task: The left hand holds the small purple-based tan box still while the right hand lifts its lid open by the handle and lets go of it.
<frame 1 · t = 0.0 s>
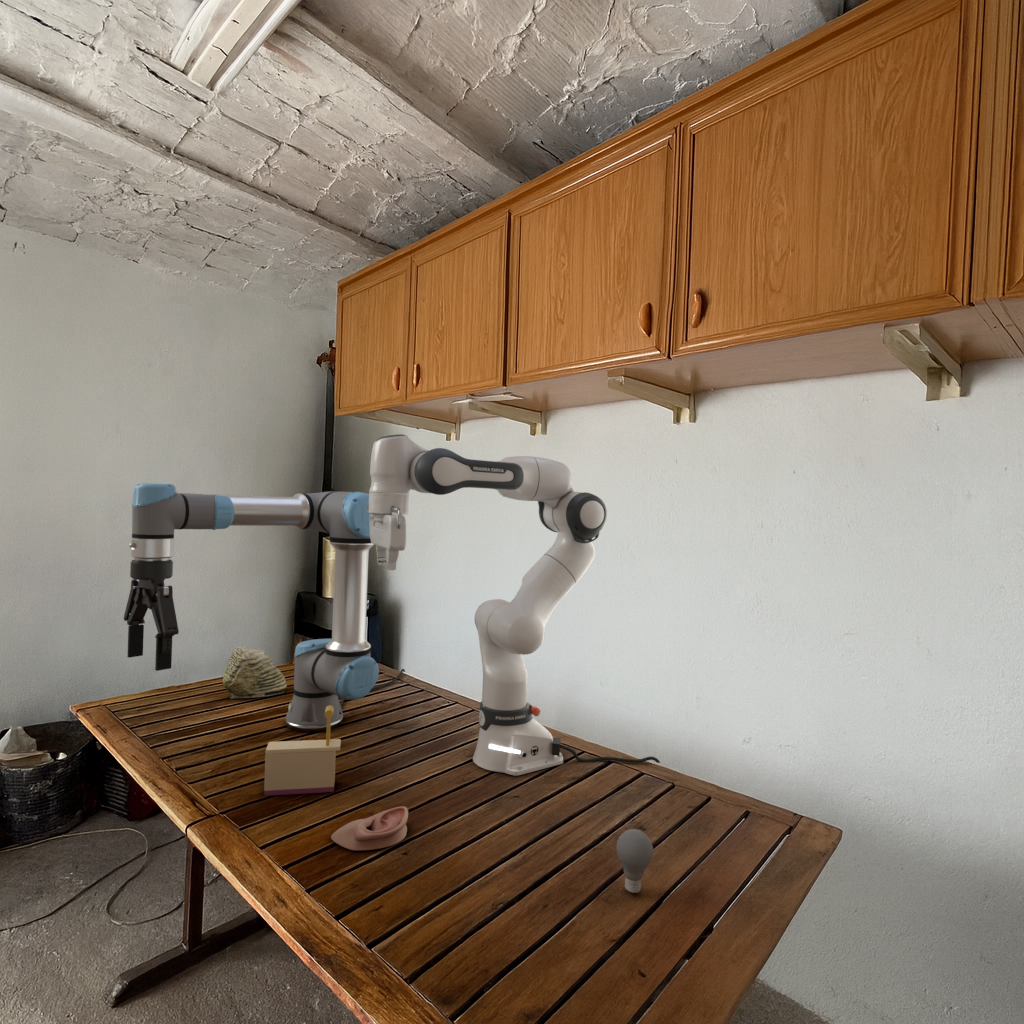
left hand: (148, 662, 129), 28 cm above the table, tool pointing down, fingers open, 13 cm apart
right hand: (386, 567, 143), 48 cm above the table, tool pointing down, fingers open, 8 cm apart
anatomical model: (370, 836, 119), on the table
light bulb: (632, 891, 106), on the table
lid: (305, 728, 137), point 13 cm above the table, hinge at 0.0°
fossil: (254, 694, 198), on the table
purple-based tan box: (300, 788, 137), on the table
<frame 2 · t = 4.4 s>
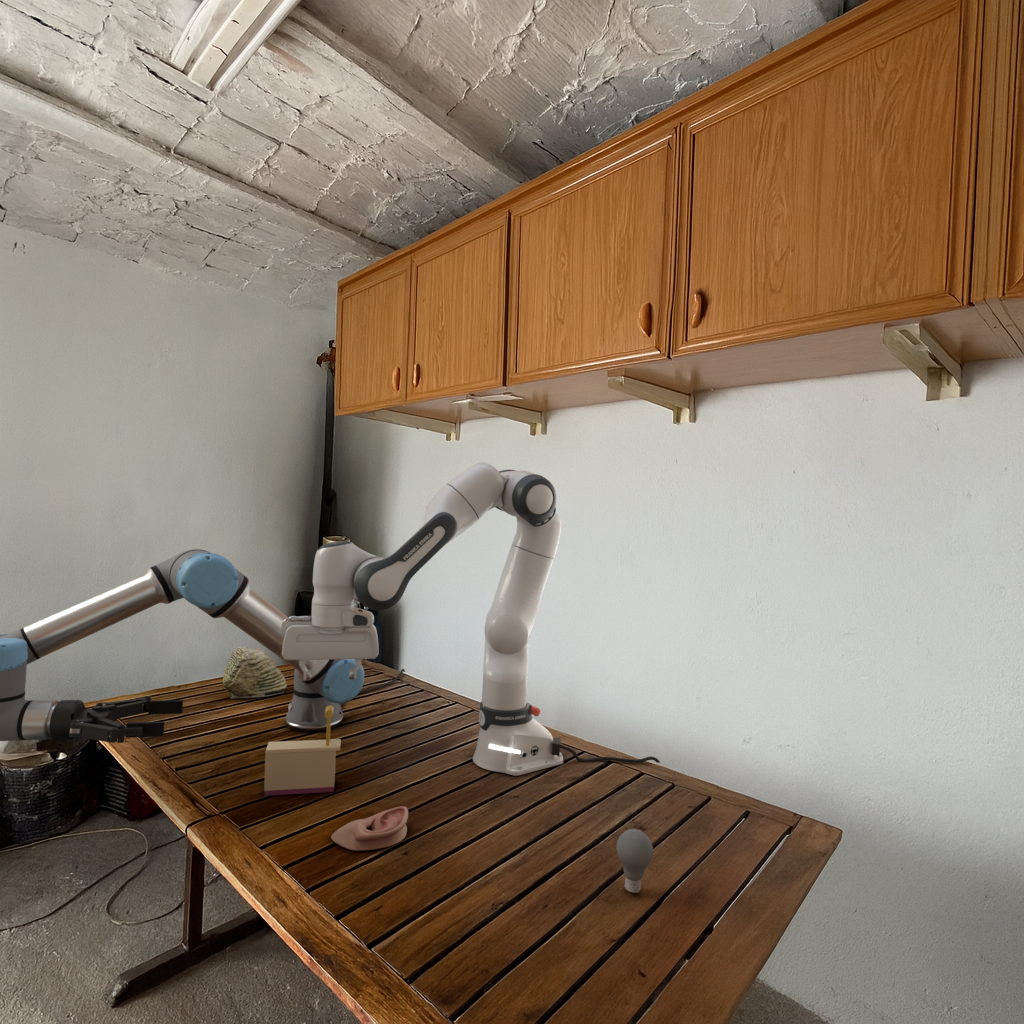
left hand: (173, 717, 131), 17 cm above the table, tool horizontal, fingers open, 13 cm apart
right hand: (330, 679, 138), 24 cm above the table, tool pointing down, fingers open, 8 cm apart
nothing on the table moved.
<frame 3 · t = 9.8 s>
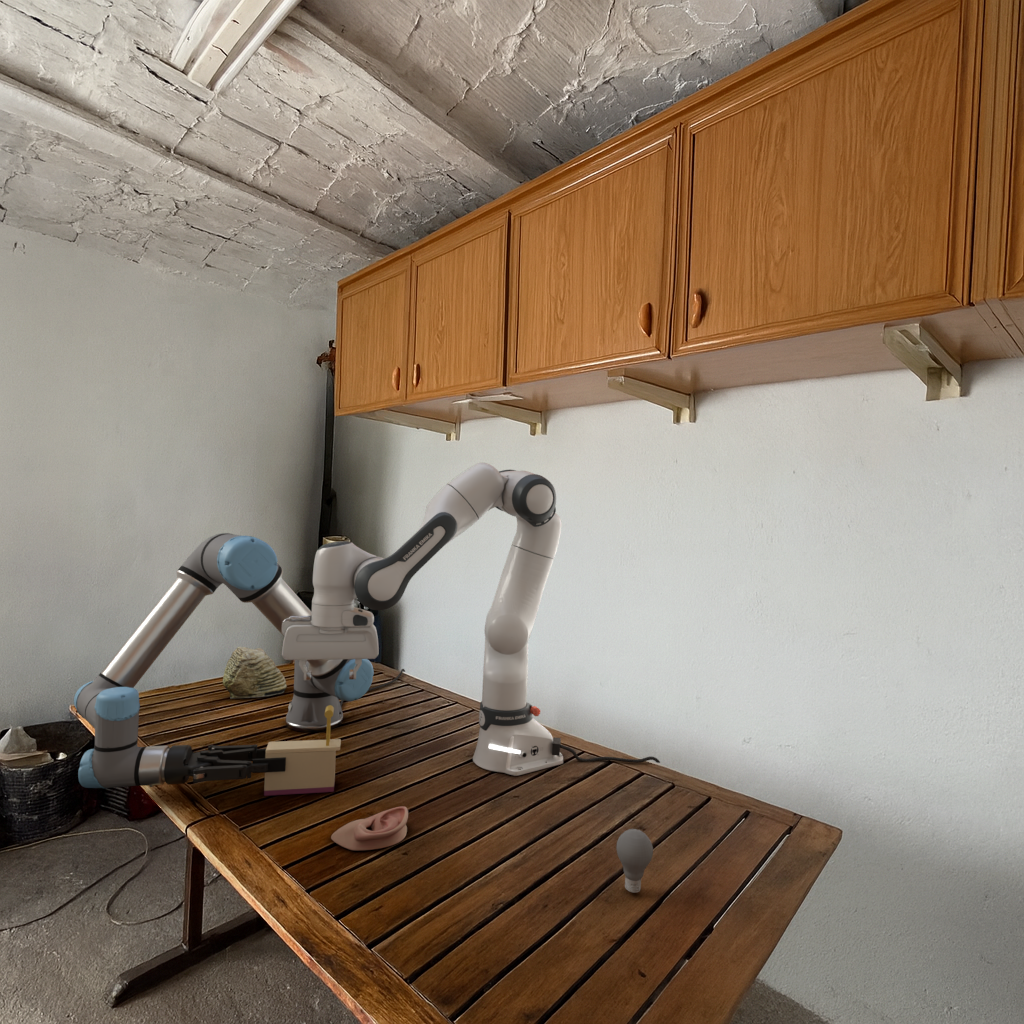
left hand: (286, 759, 136), 7 cm above the table, tool horizontal, fingers closed on purple-based tan box, 4 cm apart
right hand: (330, 679, 138), 24 cm above the table, tool pointing down, fingers open, 8 cm apart
purple-based tan box: (300, 788, 137), on the table, touching left hand
everything else where it was.
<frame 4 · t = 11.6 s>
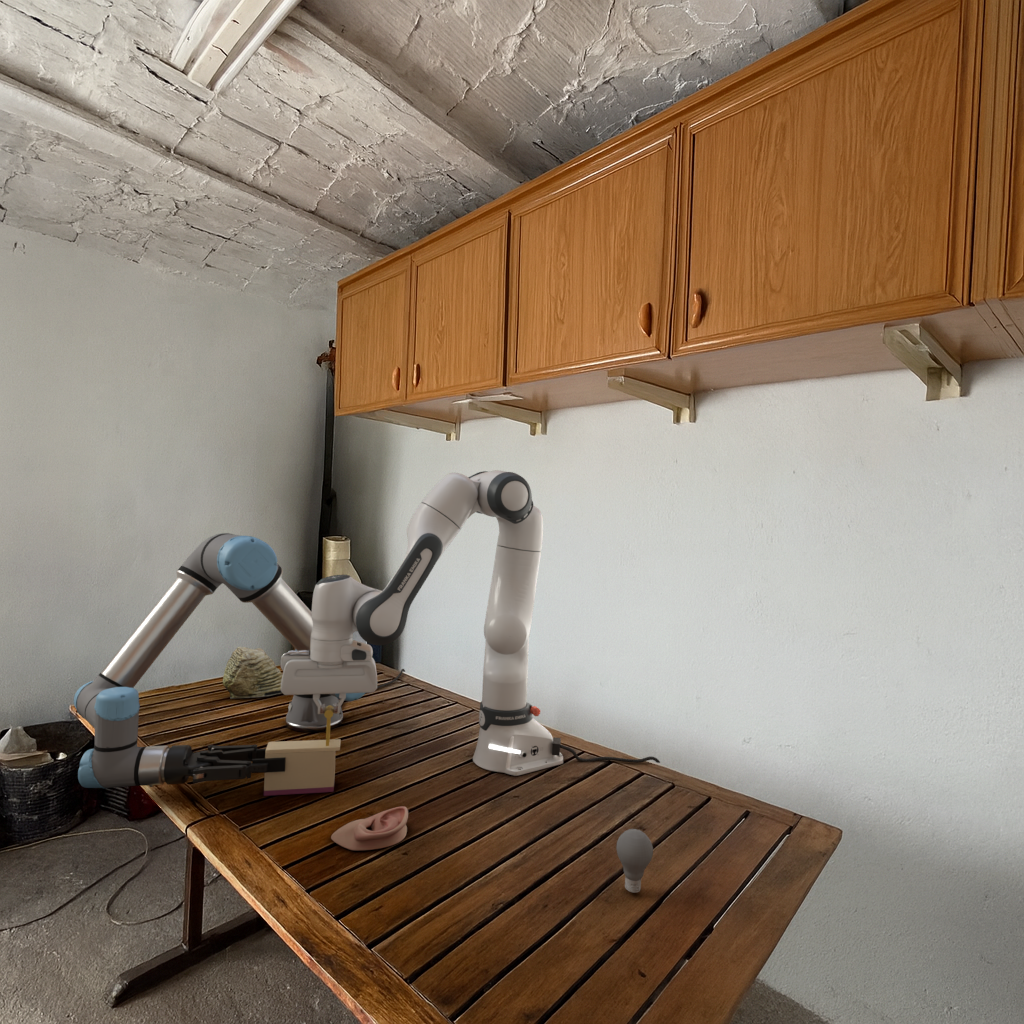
left hand: (286, 759, 136), 7 cm above the table, tool horizontal, fingers closed on purple-based tan box, 4 cm apart
right hand: (329, 713, 138), 16 cm above the table, tool pointing down, fingers closed on lid, 2 cm apart
lid: (304, 728, 137), point 13 cm above the table, hinge at -0.1°, touching right hand
purple-based tan box: (300, 788, 137), on the table, touching left hand
everything else where it was.
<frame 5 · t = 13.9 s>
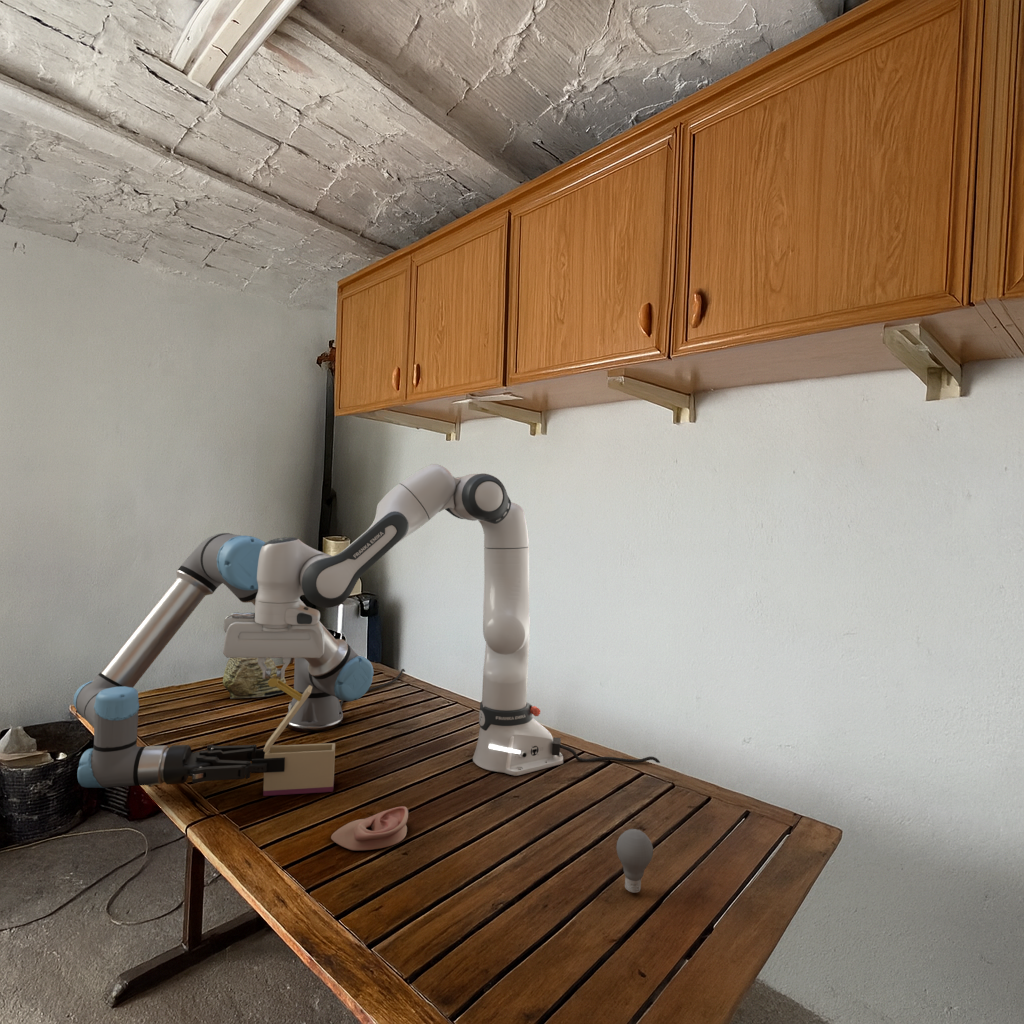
left hand: (285, 759, 136), 7 cm above the table, tool horizontal, fingers closed on purple-based tan box, 4 cm apart
right hand: (273, 677, 135), 24 cm above the table, tool pointing down, fingers closed on lid
lid: (272, 708, 135), point 18 cm above the table, hinge at 55.6°, touching right hand
purple-based tan box: (299, 788, 137), on the table, touching left hand
everything else where it was.
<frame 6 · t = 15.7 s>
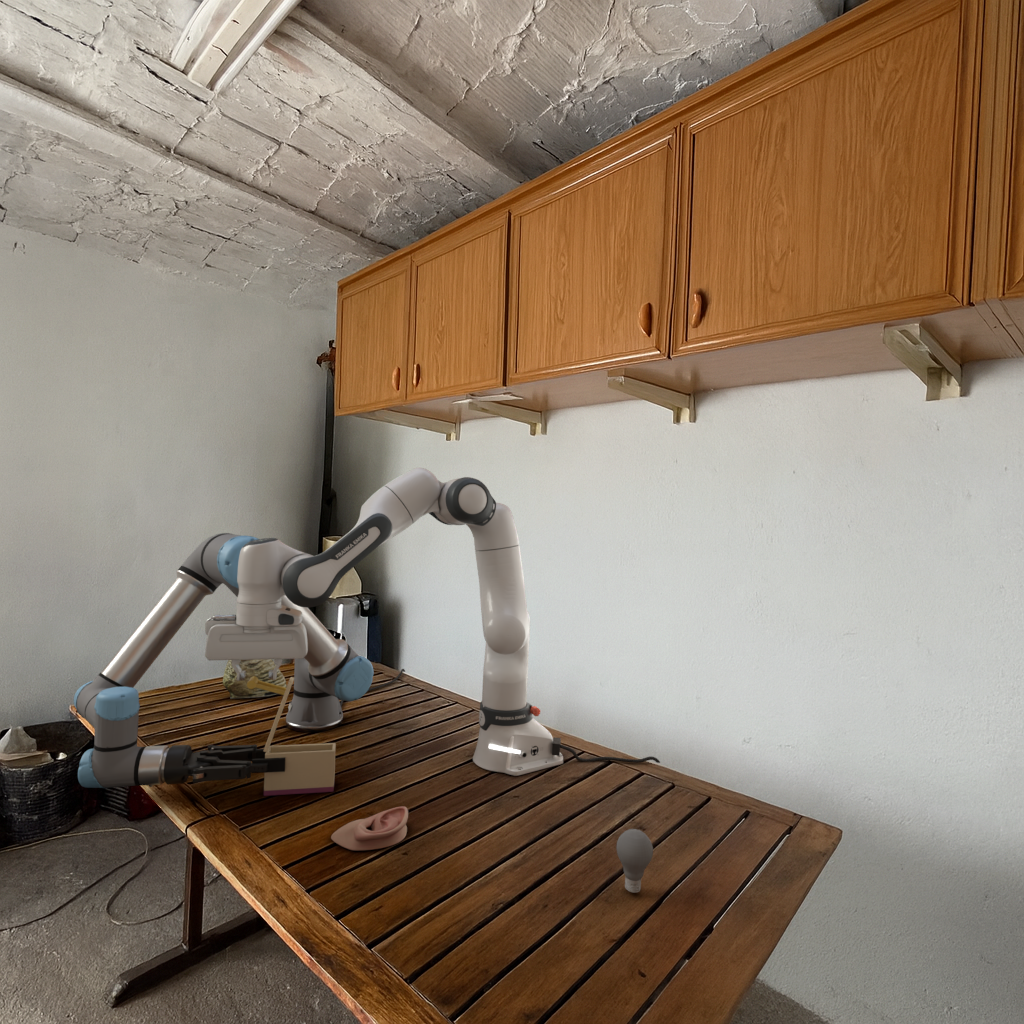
left hand: (286, 759, 136), 7 cm above the table, tool horizontal, fingers closed on purple-based tan box, 4 cm apart
right hand: (256, 679, 134), 24 cm above the table, tool pointing down, fingers open, 5 cm apart
lid: (260, 709, 135), point 18 cm above the table, hinge at 72.5°
purple-based tan box: (300, 788, 137), on the table, touching left hand
everything else where it was.
when the left hand's fingers open (7 cm above the table, at t = 18.3 s): purple-based tan box stays where it is, on the table.
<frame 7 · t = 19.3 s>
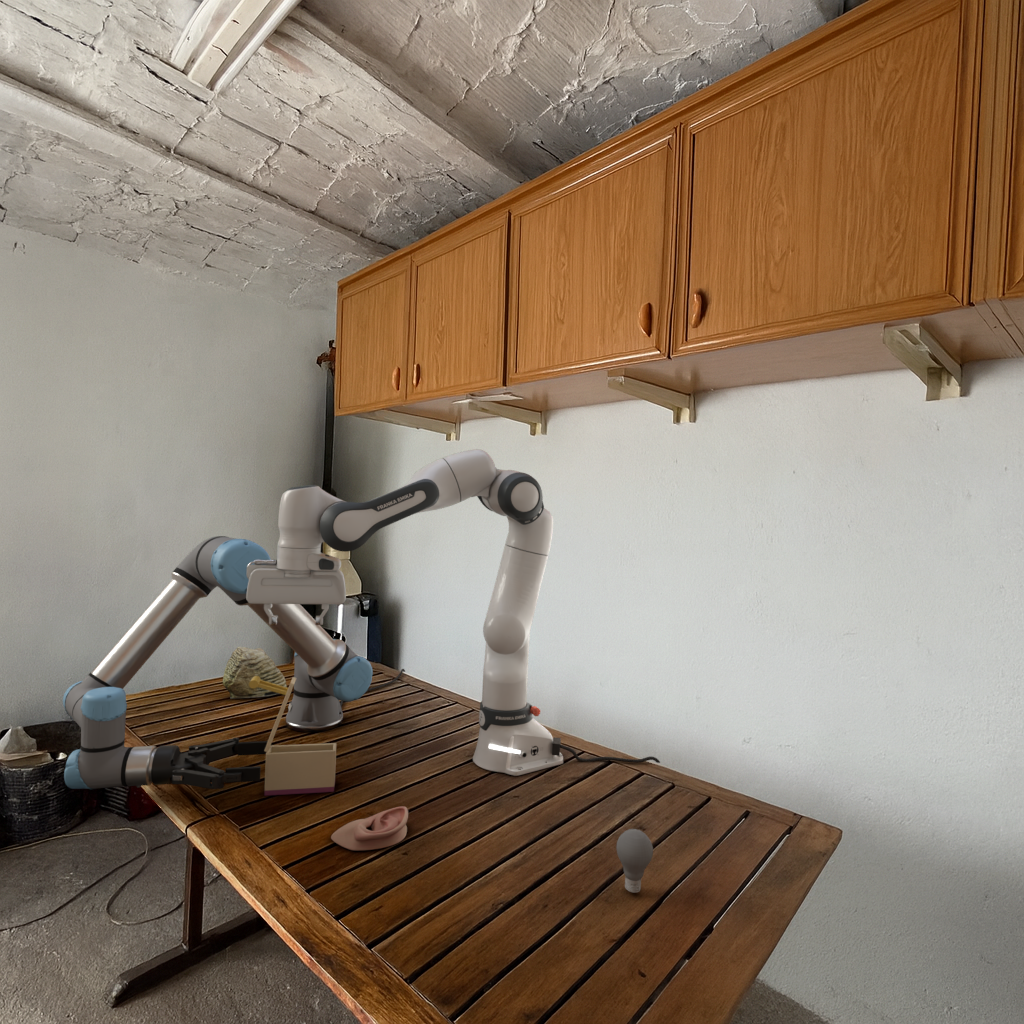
left hand: (265, 759, 135), 7 cm above the table, tool horizontal, fingers open, 13 cm apart
right hand: (296, 624, 136), 36 cm above the table, tool pointing down, fingers open, 8 cm apart
lid: (262, 708, 135), point 18 cm above the table, hinge at 71.7°
purple-based tan box: (300, 788, 137), on the table
everything else where it was.
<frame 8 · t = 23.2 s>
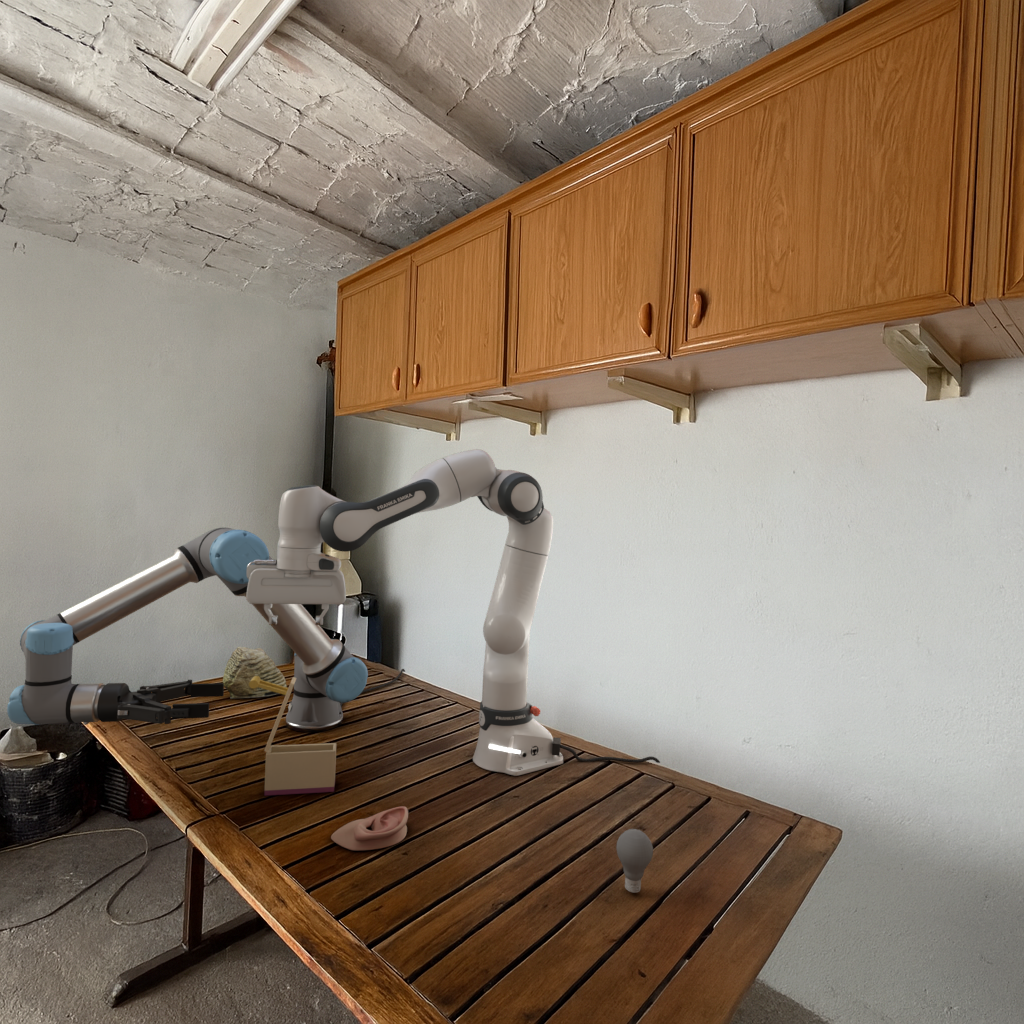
left hand: (216, 699, 133), 20 cm above the table, tool horizontal, fingers open, 13 cm apart
right hand: (296, 624, 136), 36 cm above the table, tool pointing down, fingers open, 8 cm apart
nothing on the table moved.
at the end: lid at +72° (first picture: +0°); the left hand is holding nothing; the right hand is holding nothing; purple-based tan box tilted 0°; purple-based tan box never tilted more than 1° during the clip; purple-based tan box moved 0.1 cm from its start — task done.
